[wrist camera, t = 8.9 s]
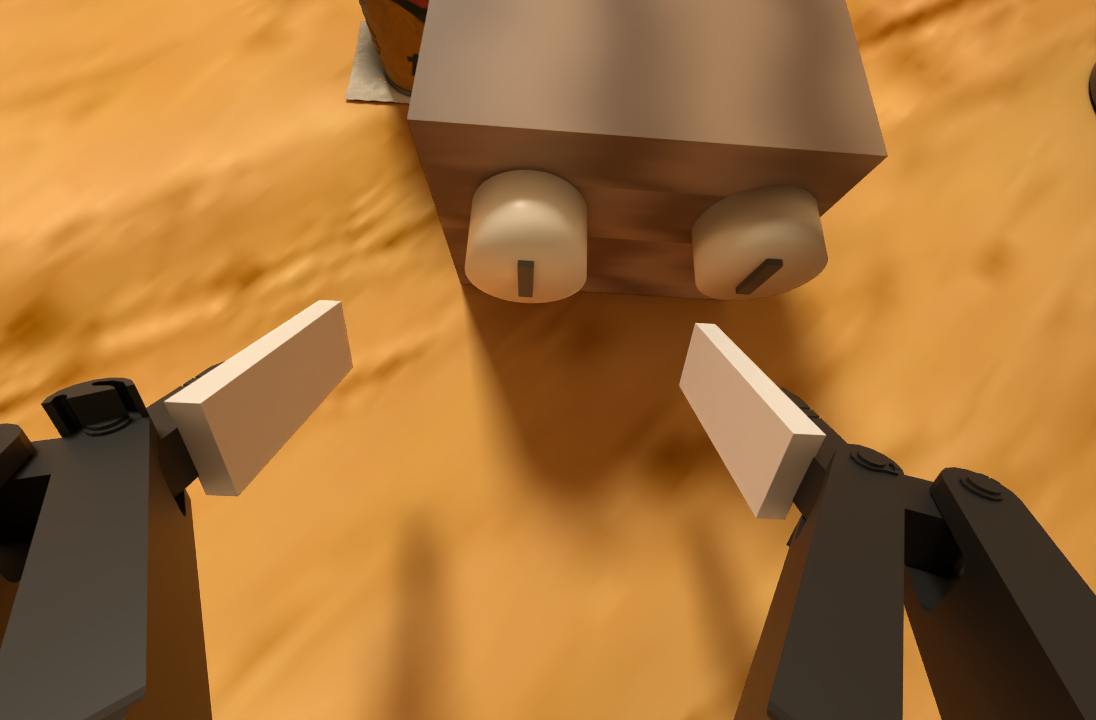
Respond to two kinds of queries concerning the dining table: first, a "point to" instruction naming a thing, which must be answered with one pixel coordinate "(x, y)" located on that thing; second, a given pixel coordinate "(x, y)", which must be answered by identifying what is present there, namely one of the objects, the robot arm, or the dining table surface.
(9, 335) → the dining table surface
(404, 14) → the condiment
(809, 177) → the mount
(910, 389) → the dining table surface
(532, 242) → the knob
